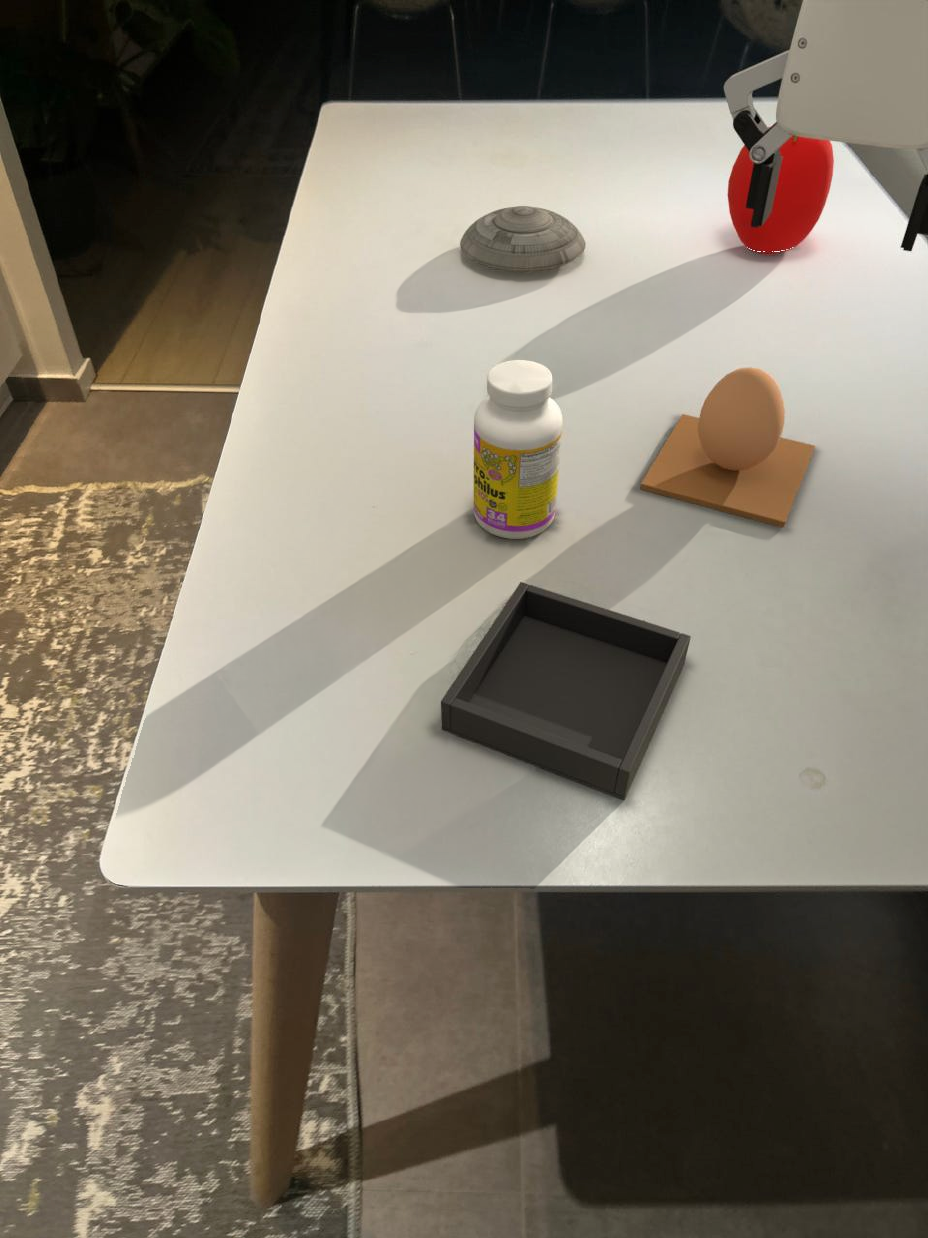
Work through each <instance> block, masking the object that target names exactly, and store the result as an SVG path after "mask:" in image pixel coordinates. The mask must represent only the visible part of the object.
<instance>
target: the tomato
mask: <svg viewBox="0 0 928 1238" xmlns="http://www.w3.org/2000/svg"><path fill="white" fill-rule="evenodd" d="M767 127H768V129H769V128H770V127H771V126H767ZM779 152H781V154H780V156H782V163H781V167H780V172H779V177H778V182H777V187H776V191H775V196H774V201H773V206H772V210H771V213H770V215H769V217H768V218H767V220H766V221H765V223H764V224H763V225H762V226H759V228H755V227H751V220H752V215H753V210H754V209H747V208H746V202H747V196H748V191H749V186H750V181H751V175H752V170H753V165H754V162H752V161H751V159H750V156H749V153H750V152H749V151H748V149H747V148H746V146H745V145H744V144H743V146H742V148H741V149H740V151H739V153H738V155H737V157H736V159H735V161H734V163H733V165H732V169H731V171H730V175H729V178H728V184H727V185H728V186H727V201H728V202H727V204H728V210H729V211H728V213H729V216H730V219H731V222H732V226H733V228H734V230H735V232H736V234H737V236H738V239H739V240H740V242H741V243H742V244H743V245H744V247H746V249H747V250H749V251H751V252H753V253H756V254H759V255H766V256H767V255H769V256H770V255H778V254H780V253H784V252H788V251H790V250H793V248H792V247H794V248H796V247H797V246H798V245H800V244H801V243H803V242H804V241H805V239H806V238H807V237H808V236H809V235H810V233H811V232H812V231H813V229H814V228H815V226H816V224H817V223H818V221H819V219H820V218H821V215H822V213H823V211H824V209H825V207H826V203H827V199H828V196H829V193H830V190H831V187H832V180H833V177H834V165H835V164H834V163H835V159H834V149H833V144H832V141H829V140H821V139H813V138H806V137H800V136H796V135H793V136H792V137H791V138H790V139H788V140H787V141H786V142H785V143H784V144H783V145H782V146H781V147H780V149H779ZM747 247H748V248H750V249H752V250H750V249H748V248H747ZM790 248H791V249H790ZM786 249H789V250H786ZM753 250H755V251H753ZM781 250H785V251H781ZM757 251H761V252H757ZM763 251H765V252H763ZM772 251H773V252H772ZM774 251H780V252H774Z"/></svg>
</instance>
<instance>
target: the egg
mask: <svg viewBox="0 0 928 1238" xmlns="http://www.w3.org/2000/svg"><path fill="white" fill-rule="evenodd" d="M785 414H786V409H785V403H784V399H783V395H782V392H781V390H780V387H779V385H778V384H777V382H776V381H775V379H774V378H773V377H772V375H770V374H769V373H768V372H766V371H764V370H762V369H761V368H758V367H752V366H749V367H740V368H736V369H734V370H733V371H731V372H729V373H726V374H725V375H724V376H723V377H722V378H721V379H720V380H719V381H717V383H716V384H715V385H714V386H713V388H712V389H711V390H710V392H709V393H708V394H707V396H706V398H705V399H704V401H703V405H702V406H701V409H700V413H699V417H698V418H699V423H698V435H699V439H700V442H701V446H702V448H703V450H704V452H705V453H706V454H707V456H708V457H709V458H710V460H711V461H713V462H714V463H715V464H717V465H719V466H720V467H722V468H724V469H729V470H733V471H736V470H745V469H749V468H751V467H753V466H755V465H757V464H759V463H760V462H762V461H763V460H765V459H766V458H767V457H768V456H769V455H770V454H771V453H772V451H773V450H774V449H775V447H776V446H777V444H778V442H779V440H780V437H781V438H782V436H783V435H782V434H783V430H784V427H785V418H786V417H785Z"/></svg>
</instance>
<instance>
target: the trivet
mask: <svg viewBox="0 0 928 1238" xmlns="http://www.w3.org/2000/svg"><path fill="white" fill-rule="evenodd" d="M698 423H699V417H697V416H693V415H689V414H684V413H682V414H681V416H680V417H679V419H678V421H677V422H676V425H674V428H673V429H672V431H671V432H670V434H669V436H668V438H667V439H666V441H665V442H664V444H663V446H662V448H661V449H660V451H659V453H658V454H657V456H656V458H655V459H654V461H653V463H652V464H651V466H650V467H649V469H648V471H647V473H646V474H645V476H644V478H643V479H642V481H641V483H640V490H642V491H645V492H650V493H654V494H656V495H661V496H664V497H668V498H671V499H676V500H679V501H683V502H686V503H690V504H695V505H698V506H702V507H705V508H708V509H712V510H717V511H720V512H724V513H728V514H732V515H735V516H739V517H741V518H746V519H749V520H753V521H757V522H760V523H764V524H767V525H771V526H775V527H779V528H784V527H785V525H786V523H787V521H788V517H789V515H790V513H791V510H792V507H793V505H794V502H795V500H796V497H797V494H798V492H799V489H800V487H801V485H802V482H803V479H804V477H805V474H806V471H807V469H808V467H809V464H810V461H811V459H812V456H813V453H814V451H815V448H816V445H814V444H809V443H805V442H801V441H797V440H793V439H789V438H785V437H782V436H781V437H780V440H779V442H778V444H777V446H776V447H775V449H774V450H773V451H772V453H771V454H770V455H769V456H768V457H767V458H766V459H765V460H763V461H762V462H760V463H759V464H757V465H755V466H753V467H751V468H749V469H745V470H736V471H733V470H729V469H724V468H722V467H720V466H719V465H717V464H715V463H714V462H713V461H711V460H710V458H709V457H708V456H707V454H706V453H705V452H704V450H703V448H702V446H701V442H700V439H699V435H698Z"/></svg>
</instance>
